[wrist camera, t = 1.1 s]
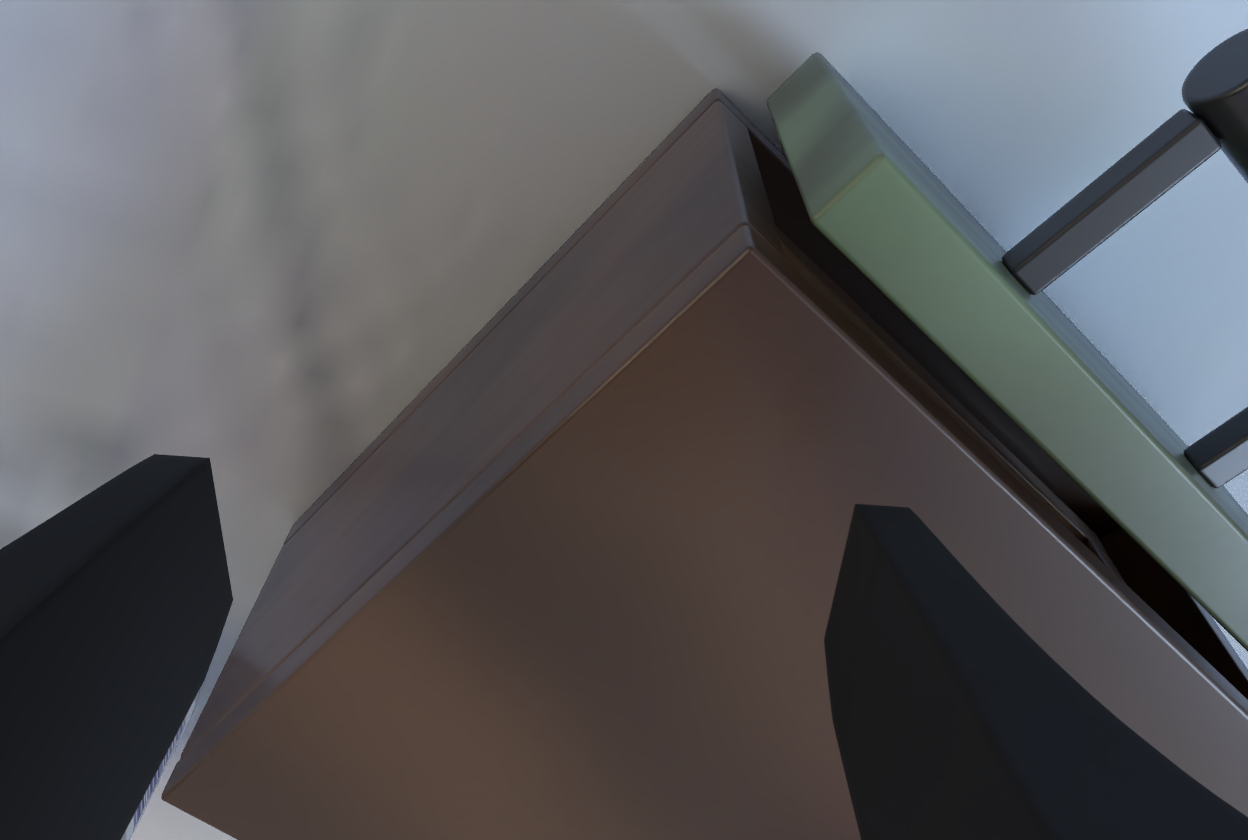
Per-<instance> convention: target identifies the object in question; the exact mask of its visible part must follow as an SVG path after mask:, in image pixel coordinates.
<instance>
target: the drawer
mask: <svg viewBox="0 0 1248 840" xmlns="http://www.w3.org/2000/svg"><path fill="white" fill-rule="evenodd" d="M1182 97H1183V101H1184V102H1185V104H1186V105H1187V106H1188V108H1189V109H1190V110H1191V112H1192V113H1191V112H1189V111H1188V110H1185V109H1182V110H1180V111H1178V112H1177V113H1176V114H1175V115H1173V116H1172V117H1171V118H1170V119H1169V120H1167V121H1166V122H1165V123H1164V124H1162V125H1161V126H1160V127H1159V128H1158V129H1156V130H1155V131H1154V132H1153V133H1152V134H1150V135H1149V136H1148V137H1147V138H1145V139H1144V140H1143V141H1142V142H1141V143H1139V144H1138V145H1137V146H1136V147H1135V148H1133V149H1132V150H1131V151H1130V152H1128V153H1127V154H1126V155H1125V156H1124V157H1122V158H1121V159H1120V160H1119V161H1117V162H1116V163H1115V164H1114V165H1113V166H1111V167H1110V168H1109V169H1108V170H1107V171H1105V172H1104V173H1103V174H1102V175H1100V176H1099V177H1098V178H1097V179H1096V180H1094V181H1093V182H1092V183H1091V184H1090V185H1088V186H1087V187H1086V188H1085V189H1083V190H1082V191H1081V192H1080V193H1079V194H1077V195H1076V196H1075V197H1074V198H1073V199H1071V200H1070V201H1069V202H1068V203H1066V204H1065V205H1064V206H1063V207H1062V208H1060V209H1059V210H1058V211H1057V212H1056V213H1054V214H1053V215H1052V216H1051V217H1049V218H1048V219H1047V220H1046V221H1045V222H1043V223H1042V224H1041V225H1040V226H1038V227H1037V228H1036V229H1035V230H1034V231H1032V232H1031V233H1030V234H1029V235H1028V236H1026V237H1025V238H1024V239H1023V240H1021V241H1020V242H1019V243H1018V244H1017V245H1015V246H1014V247H1013V248H1012V249H1011V250H1009V251H1008V252H1006V251H1005V250H1004V249H1003V248H1002V247H1001V246H1000V245H999V244H998V243H997V242H996V241H995V240H994V238H993V237H992V236H991V235H990V234H989V233H988V232H987V231H986V230H985V229H984V228H983V227H982V226H981V225H980V223H979V222H978V221H977V220H976V219H975V218H974V217H973V216H972V215H971V214H970V213H969V212H968V211H967V210H966V208H965V207H964V206H963V205H962V204H961V203H960V202H959V201H958V200H957V199H956V198H955V197H954V196H953V195H952V194H951V192H950V191H949V190H948V189H947V188H946V187H945V186H944V185H943V184H942V183H941V182H940V181H939V180H938V179H937V177H936V176H935V175H934V174H933V173H932V172H931V171H930V170H929V169H928V168H927V167H926V166H925V165H924V164H923V162H922V161H921V160H920V159H919V158H918V157H917V156H916V155H915V154H914V153H913V152H912V151H911V150H910V149H909V147H908V146H907V145H906V144H905V143H904V142H903V141H902V140H901V139H900V138H899V137H898V136H897V135H896V134H895V133H894V131H893V130H892V129H891V128H890V127H889V126H888V125H887V124H886V123H885V122H884V121H883V120H882V119H881V118H880V116H879V115H878V114H877V113H876V112H875V111H874V110H873V109H872V108H871V107H870V106H869V105H868V104H867V103H866V101H865V100H864V99H863V98H862V97H861V96H860V95H859V94H858V93H857V92H856V91H855V90H854V89H853V88H852V87H851V85H850V84H849V83H848V82H847V81H846V80H845V79H844V78H843V77H842V76H841V75H840V74H839V73H838V72H837V70H836V69H835V68H834V67H833V66H832V65H831V64H830V63H829V62H828V61H827V60H826V59H825V58H824V57H823V55H822V54H820V53H818V52H816V53H814V54H812V55H811V56H810V57H809V58H808V59H807V60H806V61H805V62H804V63H803V64H802V65H801V66H800V67H799V68H798V69H797V70H796V71H795V72H794V73H793V74H792V75H791V76H790V77H789V78H788V79H787V80H786V81H785V82H784V83H783V84H782V85H781V86H780V87H779V88H778V89H777V90H776V91H775V92H774V93H773V95H772V96H771V97H770V98H769V99H768V100H767V106H768V109H769V111H770V114H771V117H772V119H773V122H774V124H775V127H776V130H777V132H778V135H779V138H780V140H781V143H782V146H783V148H784V151H785V154H786V156H787V159H788V162H789V164H790V167H791V170H792V172H793V175H794V178H795V180H796V183H797V185H798V188H799V191H800V193H801V196H802V199H803V201H804V204H805V207H806V209H807V212H808V215H809V217H810V220H811V223H812V224H813V225H814V226H815V227H816V228H817V229H818V230H819V231H820V232H821V233H822V234H823V235H824V236H825V237H826V238H827V239H828V240H829V241H830V242H831V243H832V244H833V245H834V246H835V247H836V248H837V249H838V250H839V251H840V252H841V253H842V254H843V255H844V256H845V257H846V258H847V259H848V260H849V261H850V262H851V263H852V264H853V265H854V266H855V267H857V268H858V269H859V270H860V271H861V272H862V273H863V274H864V275H865V276H866V277H867V278H868V279H869V280H870V281H871V282H872V283H873V284H874V285H875V286H876V287H877V288H878V289H879V290H880V291H881V292H882V293H883V294H884V295H885V296H886V297H887V298H888V299H889V300H890V301H891V302H892V303H893V304H894V305H895V306H896V307H897V308H898V309H899V310H900V311H901V312H902V313H903V314H904V315H905V316H906V317H907V318H908V319H909V320H911V321H912V322H913V323H914V324H915V325H916V326H917V327H918V328H919V329H920V330H921V331H922V332H923V333H924V334H925V335H926V336H927V337H928V338H929V339H930V340H931V341H932V342H933V343H934V344H935V345H936V346H937V347H938V348H939V349H940V350H941V351H942V352H943V353H944V354H945V355H946V356H947V357H948V358H949V359H950V360H951V361H952V362H953V363H954V364H955V365H956V366H957V367H958V368H959V369H960V370H961V371H962V372H964V373H965V374H966V375H967V376H968V377H969V378H970V379H971V380H972V381H973V382H974V383H975V384H976V385H977V386H978V387H979V388H980V389H981V390H982V391H983V392H984V393H985V394H986V395H987V396H988V397H989V398H990V399H991V400H992V401H993V402H994V403H995V404H996V405H997V406H998V407H999V408H1000V409H1001V410H1002V411H1003V412H1004V413H1005V414H1006V415H1007V416H1008V417H1009V418H1010V419H1011V420H1012V421H1013V422H1014V423H1015V424H1016V425H1018V426H1019V427H1020V428H1021V429H1022V430H1023V431H1024V432H1025V433H1026V434H1027V435H1028V436H1029V437H1030V438H1031V439H1032V440H1033V441H1034V442H1035V443H1036V444H1037V445H1038V446H1039V447H1040V448H1041V449H1042V450H1043V451H1044V452H1045V453H1046V454H1047V455H1048V456H1049V457H1050V458H1051V459H1052V460H1053V461H1054V462H1055V463H1056V464H1057V465H1058V466H1059V467H1060V468H1061V469H1062V470H1063V471H1064V472H1065V473H1066V474H1067V475H1068V476H1069V477H1071V478H1072V479H1073V480H1074V481H1075V482H1076V483H1077V484H1078V485H1079V486H1080V487H1081V488H1082V489H1083V490H1084V491H1085V492H1086V493H1087V494H1088V495H1089V496H1090V497H1091V498H1092V499H1093V500H1094V501H1095V502H1096V503H1097V504H1098V505H1099V506H1100V507H1101V508H1102V509H1103V510H1104V511H1105V512H1106V513H1107V514H1108V515H1109V516H1110V517H1111V518H1112V519H1113V520H1114V521H1115V522H1116V523H1117V524H1118V525H1119V526H1120V527H1121V528H1122V529H1123V530H1125V531H1126V532H1127V533H1128V534H1129V535H1130V536H1131V537H1132V538H1133V539H1134V540H1135V541H1136V542H1137V543H1138V544H1139V545H1140V546H1141V547H1142V548H1143V549H1144V550H1145V551H1146V552H1147V553H1148V554H1149V555H1150V556H1151V557H1152V558H1153V559H1154V560H1155V561H1156V562H1157V563H1158V564H1159V565H1160V566H1161V567H1162V568H1163V569H1164V570H1165V571H1166V572H1167V573H1168V574H1169V575H1170V576H1171V577H1172V578H1173V579H1174V580H1175V581H1176V582H1178V583H1179V584H1180V585H1181V586H1182V587H1183V588H1184V589H1185V590H1186V591H1187V592H1188V593H1189V594H1190V595H1191V596H1192V597H1193V598H1194V599H1195V600H1196V601H1197V602H1198V603H1199V604H1200V605H1201V606H1202V607H1203V608H1204V609H1205V610H1206V611H1207V612H1208V613H1209V614H1210V615H1211V616H1212V617H1213V618H1214V619H1215V620H1216V621H1217V622H1218V623H1219V624H1220V625H1221V626H1222V627H1223V628H1224V629H1225V630H1226V631H1227V632H1228V633H1229V634H1230V635H1232V636H1233V637H1234V638H1235V639H1236V640H1237V641H1238V642H1239V643H1240V644H1241V645H1242V646H1243V647H1244V648H1245V649H1246V650H1247V651H1248V515H1247V514H1246V512H1245V511H1244V510H1243V509H1242V508H1241V506H1240V505H1239V504H1238V503H1237V501H1236V500H1235V499H1234V498H1233V497H1232V495H1231V494H1230V493H1229V492H1228V491H1227V489H1226V488H1225V487H1224V486H1223V485H1224V484H1225V483H1227V482H1229V481H1230V480H1232V479H1233V478H1235V477H1236V476H1238V475H1239V474H1241V473H1242V472H1244V471H1245V470H1247V469H1248V407H1247V408H1245V409H1244V410H1242V411H1241V412H1239V413H1238V414H1236V415H1235V416H1233V417H1232V418H1231V419H1229V420H1228V421H1226V422H1225V423H1223V424H1222V425H1220V426H1219V427H1217V428H1216V429H1214V430H1213V431H1211V432H1210V433H1208V434H1207V435H1205V436H1204V437H1203V438H1201V439H1200V440H1198V441H1197V442H1195V443H1194V444H1192V445H1191V446H1189V447H1188V446H1187V445H1186V444H1185V443H1184V442H1183V441H1182V440H1181V439H1180V437H1179V436H1178V435H1177V434H1176V433H1175V432H1174V431H1173V430H1172V429H1171V428H1170V427H1169V426H1168V425H1167V424H1166V422H1165V421H1164V420H1163V419H1162V418H1161V417H1160V416H1159V415H1158V414H1157V413H1156V412H1155V411H1154V410H1153V409H1152V407H1151V406H1150V405H1149V404H1148V403H1147V402H1146V401H1145V400H1144V399H1143V398H1142V397H1141V396H1140V395H1139V394H1138V393H1137V391H1136V390H1135V389H1134V388H1133V387H1132V386H1131V385H1130V384H1129V383H1128V382H1127V381H1126V380H1125V379H1124V378H1123V376H1122V375H1121V374H1120V373H1119V372H1118V371H1117V370H1116V369H1115V368H1114V367H1113V366H1112V365H1111V364H1110V363H1109V361H1108V360H1107V359H1106V358H1105V357H1104V356H1103V355H1102V354H1101V353H1100V352H1099V351H1098V350H1097V349H1096V348H1095V346H1094V345H1093V344H1092V343H1091V342H1090V341H1089V340H1088V339H1087V338H1086V337H1085V336H1084V335H1083V334H1082V333H1081V332H1080V330H1079V329H1078V328H1077V327H1076V326H1075V325H1074V324H1073V323H1072V322H1071V321H1070V320H1069V319H1068V318H1067V317H1066V315H1065V314H1064V313H1063V312H1062V311H1061V310H1060V309H1059V308H1058V307H1057V306H1056V305H1055V304H1054V303H1053V302H1052V300H1051V299H1050V298H1049V297H1048V296H1047V295H1046V294H1045V293H1044V292H1043V291H1042V290H1043V289H1045V288H1046V287H1047V286H1048V285H1050V284H1051V283H1052V282H1053V281H1055V280H1056V279H1057V278H1058V277H1060V276H1061V275H1062V274H1063V273H1065V272H1066V271H1067V270H1069V269H1070V268H1071V267H1072V266H1074V265H1075V264H1076V263H1077V262H1079V261H1080V260H1081V259H1082V258H1084V257H1085V256H1086V255H1087V254H1089V253H1090V252H1091V251H1092V250H1094V249H1095V248H1096V247H1098V246H1099V245H1100V244H1101V243H1103V242H1104V241H1105V240H1106V239H1108V238H1109V237H1110V236H1111V235H1113V234H1114V233H1115V232H1116V231H1118V230H1119V229H1120V228H1121V227H1123V226H1124V225H1125V224H1127V223H1128V222H1129V221H1130V220H1132V219H1133V218H1134V217H1135V216H1137V215H1138V214H1139V213H1140V212H1142V211H1143V210H1144V209H1145V208H1147V207H1148V206H1149V205H1151V204H1152V203H1153V202H1154V201H1156V200H1157V199H1158V198H1159V197H1161V196H1162V195H1163V194H1164V193H1166V192H1167V191H1168V190H1169V189H1171V188H1172V187H1173V186H1174V185H1176V184H1177V183H1178V182H1180V181H1181V180H1182V179H1183V178H1185V177H1186V176H1187V175H1188V174H1190V173H1191V172H1192V171H1193V170H1195V169H1196V168H1197V167H1198V166H1200V165H1201V164H1202V163H1203V162H1205V161H1206V160H1207V159H1209V158H1210V157H1211V156H1212V155H1214V154H1215V153H1216V152H1217V151H1219V150H1220V149H1221V150H1222V151H1223V152H1224V154H1225V155H1226V156H1227V157H1228V159H1229V160H1230V161H1231V163H1232V164H1233V165H1234V166H1235V168H1236V169H1237V170H1238V172H1239V173H1240V174H1241V175H1242V177H1243V178H1244V179H1245V180H1246V182H1247V183H1248V29H1246V30H1244V31H1242V32H1239V33H1238V34H1236V35H1234V36H1232V37H1230V38H1228V39H1227V40H1225V41H1224V42H1222V43H1221V44H1219V45H1218V46H1216V47H1215V48H1214V49H1213V50H1211V51H1210V52H1209V53H1208V54H1206V55H1205V56H1204V57H1203V58H1202V59H1201V60H1200V61H1199V62H1198V63H1197V64H1196V65H1195V66H1194V68H1193V69H1192V70H1191V71H1190V73H1189V74H1188V76H1187V77H1186V79H1185V81H1184V84H1183V87H1182ZM776 228H777V232H778V235H779V239H780V242H781V246H782V249H783V253H784V256H785V259H786V261H787V262H788V263H789V264H790V265H791V266H792V267H793V268H794V269H795V270H796V271H797V272H798V273H799V274H800V275H801V276H802V277H804V278H805V279H806V280H807V281H808V282H809V283H810V284H811V285H812V286H813V287H814V288H815V289H816V290H817V291H818V292H819V293H820V294H821V295H822V296H824V297H825V298H826V299H827V300H828V301H829V302H830V303H831V304H832V305H833V306H834V307H835V308H836V309H837V310H838V311H839V312H840V313H841V314H842V315H843V316H845V317H846V318H847V319H848V320H849V321H850V322H851V323H852V324H853V325H854V326H855V327H856V328H857V329H858V330H859V331H860V332H861V333H862V334H863V335H865V336H866V337H867V338H868V339H869V340H870V341H871V342H872V343H873V344H874V345H875V346H876V347H877V348H878V349H879V350H880V351H881V352H882V353H883V354H885V355H886V356H887V357H888V358H889V359H890V360H891V361H892V362H893V363H894V364H895V365H896V366H897V367H898V368H899V369H900V370H901V371H902V372H903V373H904V374H906V375H907V376H908V377H909V378H910V379H911V380H912V381H913V382H914V383H915V384H916V385H917V386H918V387H919V388H920V389H921V390H922V391H923V392H924V393H926V394H927V395H928V396H929V397H930V398H931V399H932V400H933V401H934V402H935V403H936V404H937V405H938V406H939V407H940V408H941V409H942V410H943V411H944V412H946V413H947V414H948V415H949V416H950V417H951V418H952V419H953V420H954V421H955V422H956V423H957V424H958V425H959V426H960V427H961V428H962V429H963V430H964V431H965V432H967V433H968V434H969V435H970V436H971V437H972V438H973V439H974V440H975V441H976V442H977V443H978V444H979V445H980V446H981V447H982V448H983V449H984V450H985V451H987V452H988V453H989V454H990V455H991V456H992V457H993V458H994V459H995V460H996V461H997V462H998V463H999V464H1000V465H1001V466H1002V467H1003V468H1004V469H1005V470H1007V471H1008V472H1009V473H1010V474H1011V475H1012V476H1013V477H1014V478H1015V479H1016V480H1017V481H1018V482H1019V483H1020V484H1021V485H1022V486H1023V487H1024V488H1025V489H1026V490H1028V491H1029V492H1030V493H1031V494H1032V495H1033V496H1034V497H1035V498H1036V499H1037V500H1038V501H1039V502H1040V503H1041V504H1042V505H1043V506H1044V507H1045V508H1046V509H1048V510H1049V511H1050V512H1051V513H1052V514H1053V515H1054V516H1055V517H1056V518H1057V519H1058V520H1059V521H1060V522H1061V523H1062V524H1063V525H1064V526H1065V527H1066V528H1067V529H1069V530H1070V531H1071V532H1072V533H1073V534H1074V535H1075V536H1076V537H1077V538H1078V539H1079V540H1080V541H1081V542H1082V543H1083V544H1084V545H1085V546H1086V547H1087V548H1089V549H1090V550H1091V551H1092V552H1093V553H1094V554H1095V555H1096V556H1097V557H1098V558H1099V559H1100V560H1101V561H1102V562H1103V563H1104V564H1105V565H1106V566H1107V567H1109V568H1110V569H1111V570H1112V571H1113V572H1114V573H1115V574H1116V575H1117V576H1118V577H1119V578H1120V579H1121V580H1122V581H1123V582H1124V580H1123V578H1122V577H1121V575H1120V573H1119V572H1118V570H1117V568H1116V567H1115V565H1114V563H1113V562H1112V560H1111V558H1110V557H1109V556H1108V553H1107V551H1106V550H1105V548H1104V546H1103V545H1102V543H1101V541H1100V540H1099V538H1098V536H1097V535H1096V533H1094V532H1093V531H1092V530H1091V529H1090V528H1089V527H1088V526H1087V525H1086V524H1085V523H1084V522H1083V521H1082V520H1081V519H1080V518H1079V517H1078V516H1077V515H1076V514H1075V513H1074V512H1073V511H1072V510H1071V509H1070V508H1069V507H1067V506H1066V505H1065V504H1064V503H1063V502H1062V501H1061V500H1060V499H1059V498H1058V497H1057V496H1056V495H1055V494H1054V493H1053V492H1052V491H1051V490H1050V489H1049V488H1048V487H1047V486H1046V485H1045V484H1044V483H1043V482H1042V481H1040V480H1039V479H1038V478H1037V477H1036V476H1035V475H1034V474H1033V473H1032V472H1031V471H1030V470H1029V469H1028V468H1027V467H1026V466H1025V465H1024V464H1023V463H1022V462H1021V461H1020V460H1019V459H1018V458H1017V457H1016V456H1015V455H1013V454H1012V453H1011V452H1010V451H1009V450H1008V449H1007V448H1006V447H1005V446H1004V445H1003V444H1002V443H1001V442H1000V441H999V440H998V439H997V438H996V437H995V436H994V435H993V434H992V433H991V432H990V431H989V430H988V429H987V428H985V427H984V426H983V425H982V424H981V423H980V422H979V421H978V420H977V419H976V418H975V417H974V416H973V415H972V414H971V413H970V412H969V411H968V410H967V409H966V408H965V407H964V406H963V405H962V404H961V403H960V402H958V401H957V400H956V399H955V398H954V397H953V396H952V395H951V394H950V393H949V392H948V391H947V390H946V389H945V388H944V387H943V386H942V385H941V384H940V383H939V382H938V381H937V380H936V379H935V378H934V377H933V376H931V375H930V374H929V373H928V372H927V371H926V370H925V369H924V368H923V367H922V366H921V365H920V364H919V363H918V362H917V361H916V360H915V359H914V358H913V357H912V356H911V355H910V354H909V353H908V352H907V351H906V350H904V349H903V348H902V347H901V346H900V345H899V344H898V343H897V342H896V341H895V340H894V339H893V338H892V337H891V336H890V335H889V334H888V333H887V332H886V331H885V330H884V329H883V328H882V327H881V326H880V325H879V324H877V323H876V322H875V321H874V320H873V319H872V318H871V317H870V316H869V315H868V314H867V313H866V312H865V311H864V310H863V309H862V308H861V307H860V306H859V305H858V304H857V303H856V302H855V301H854V300H853V299H852V298H851V297H849V296H848V295H847V294H846V293H845V292H844V291H843V290H842V289H841V288H840V287H839V286H838V285H837V284H836V283H835V282H834V281H833V280H832V279H831V278H830V277H829V276H828V275H827V274H826V273H825V272H824V271H822V270H821V269H820V268H819V267H818V266H817V265H816V264H815V263H814V262H813V261H812V260H811V259H810V258H809V257H808V256H807V255H806V254H805V253H804V252H803V251H802V250H801V249H800V248H799V247H798V246H797V245H795V244H794V243H793V242H792V241H791V240H790V239H789V238H788V237H787V236H786V235H785V234H784V233H783V232H782V231H781V230H780V229H779V228H778V227H777V226H776ZM1124 583H1125V582H1124ZM1125 584H1126V583H1125Z"/></svg>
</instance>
